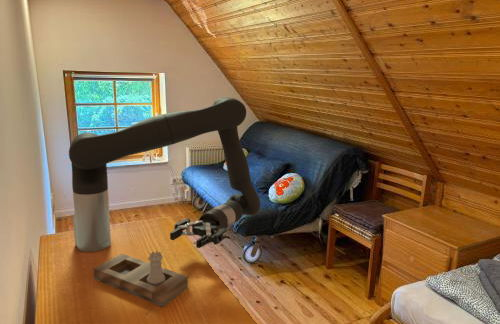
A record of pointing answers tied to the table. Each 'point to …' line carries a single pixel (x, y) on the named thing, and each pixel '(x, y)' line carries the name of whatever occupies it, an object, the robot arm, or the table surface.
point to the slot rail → (140, 279)
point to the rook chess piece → (155, 270)
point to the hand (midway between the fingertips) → (184, 240)
